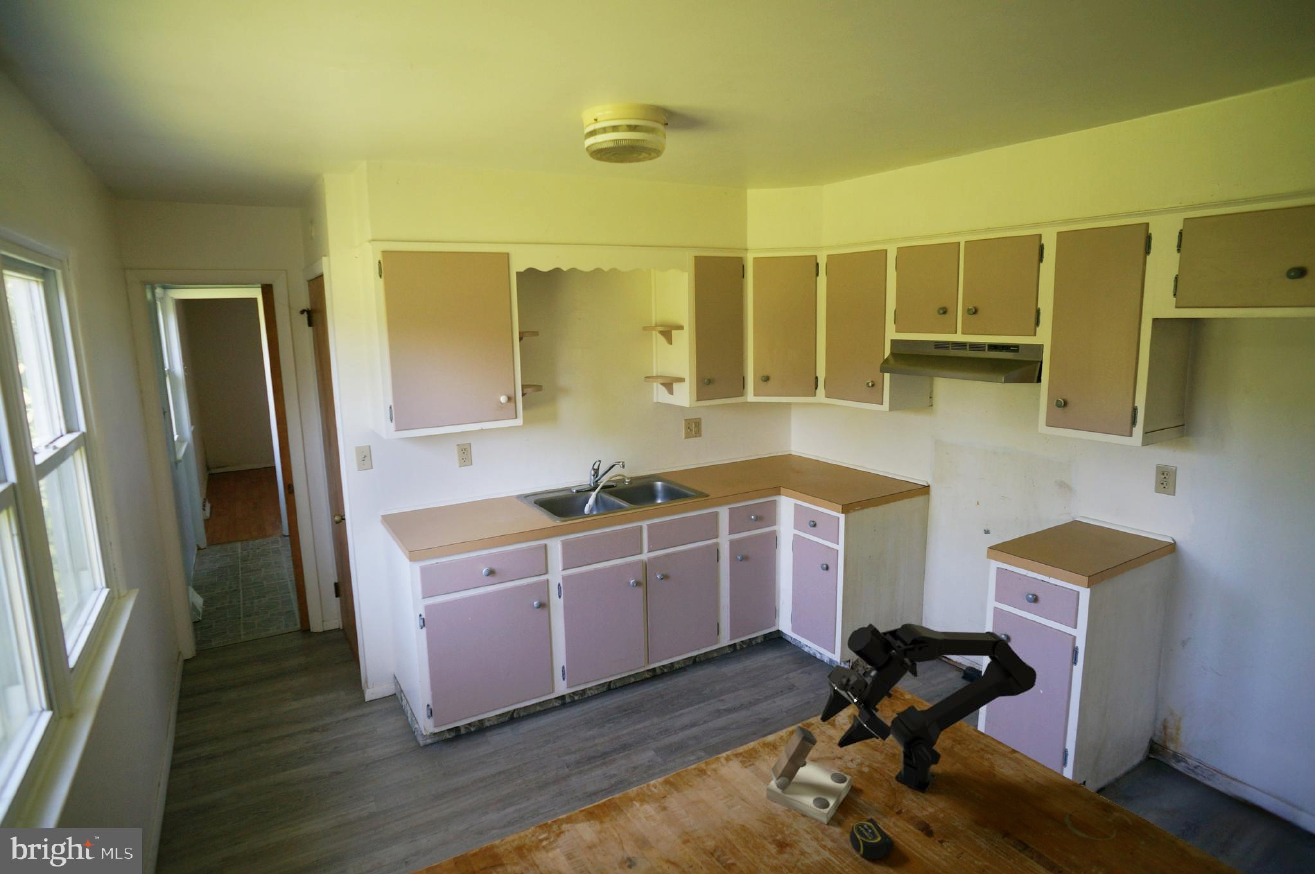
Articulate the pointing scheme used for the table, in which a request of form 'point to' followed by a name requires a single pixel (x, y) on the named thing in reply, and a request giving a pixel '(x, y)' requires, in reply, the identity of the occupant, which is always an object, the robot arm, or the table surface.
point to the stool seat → (812, 791)
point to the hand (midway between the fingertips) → (830, 733)
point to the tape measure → (870, 840)
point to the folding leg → (792, 757)
